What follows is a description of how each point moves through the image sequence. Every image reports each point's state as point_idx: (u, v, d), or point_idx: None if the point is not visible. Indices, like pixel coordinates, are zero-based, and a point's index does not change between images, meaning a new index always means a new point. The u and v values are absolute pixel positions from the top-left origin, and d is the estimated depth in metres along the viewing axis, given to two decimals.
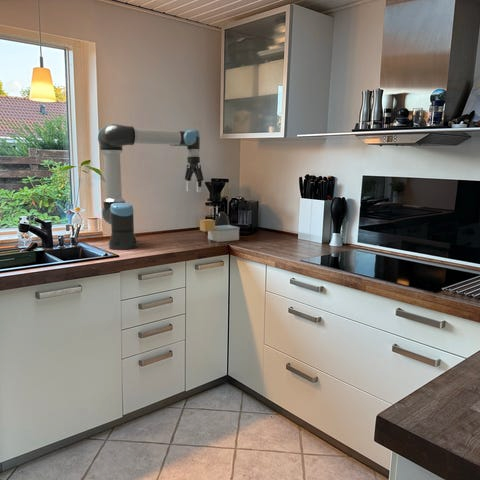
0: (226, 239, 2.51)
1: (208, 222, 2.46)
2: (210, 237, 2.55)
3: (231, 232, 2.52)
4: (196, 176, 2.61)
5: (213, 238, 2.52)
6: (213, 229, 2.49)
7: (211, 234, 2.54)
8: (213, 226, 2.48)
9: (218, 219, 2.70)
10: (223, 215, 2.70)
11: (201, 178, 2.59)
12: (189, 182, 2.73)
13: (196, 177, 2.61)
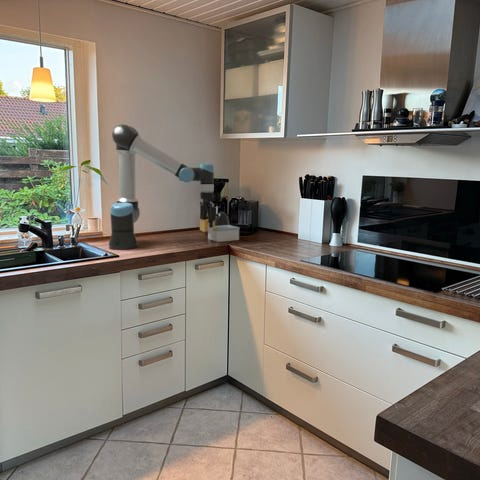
0: (226, 239, 2.51)
1: None
2: (210, 237, 2.55)
3: (231, 232, 2.52)
4: (208, 215, 2.45)
5: (213, 238, 2.52)
6: (213, 229, 2.49)
7: (211, 234, 2.54)
8: (213, 226, 2.48)
9: (218, 219, 2.70)
10: (223, 215, 2.70)
11: (212, 219, 2.44)
12: None
13: (208, 216, 2.46)
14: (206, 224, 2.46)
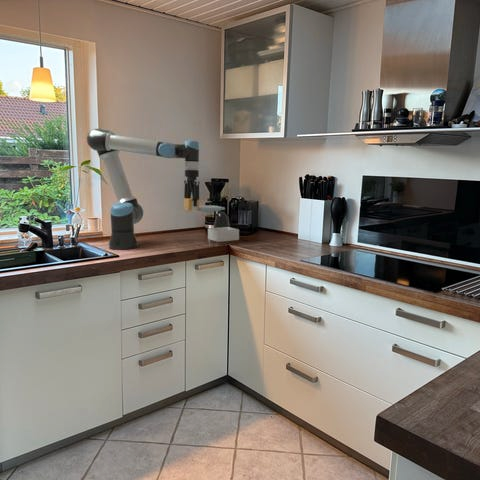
0: (226, 239, 2.51)
1: None
2: (210, 237, 2.55)
3: (231, 232, 2.52)
4: (192, 194, 2.39)
5: (213, 238, 2.52)
6: (197, 208, 2.42)
7: (211, 234, 2.54)
8: (197, 205, 2.42)
9: (218, 219, 2.70)
10: (223, 215, 2.70)
11: (197, 198, 2.37)
12: None
13: (192, 195, 2.39)
14: (190, 203, 2.39)
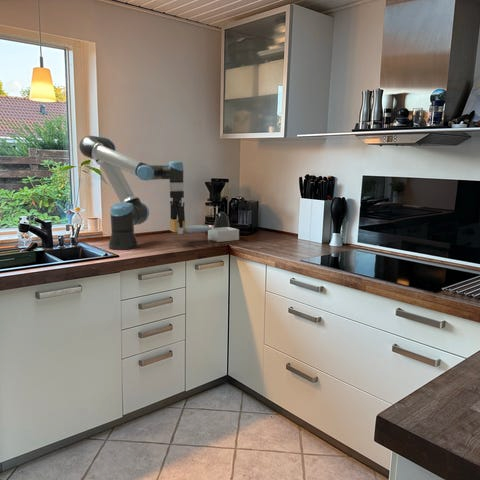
0: (226, 239, 2.51)
1: None
2: (210, 237, 2.55)
3: (231, 232, 2.52)
4: None
5: (213, 238, 2.52)
6: (183, 229, 2.39)
7: (211, 234, 2.54)
8: (183, 226, 2.38)
9: (218, 219, 2.69)
10: (223, 215, 2.70)
11: (182, 219, 2.34)
12: None
13: None
14: (176, 224, 2.36)
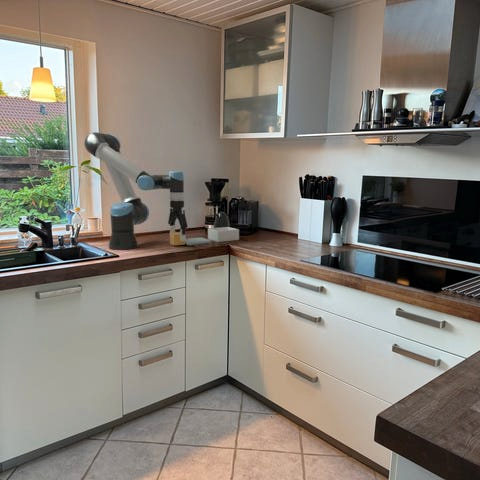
0: (226, 239, 2.51)
1: (178, 236, 2.38)
2: (210, 237, 2.55)
3: (231, 232, 2.52)
4: None
5: (213, 238, 2.52)
6: (183, 243, 2.40)
7: (211, 234, 2.54)
8: None
9: (218, 219, 2.70)
10: (223, 215, 2.70)
11: (185, 226, 2.31)
12: (173, 227, 2.46)
13: None
14: (176, 238, 2.37)
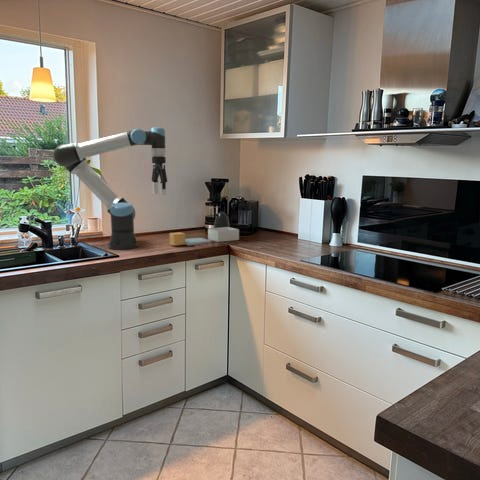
0: (226, 239, 2.51)
1: (178, 236, 2.37)
2: (210, 237, 2.55)
3: (231, 232, 2.52)
4: (160, 177, 2.41)
5: (213, 238, 2.52)
6: (183, 243, 2.40)
7: (211, 234, 2.54)
8: (183, 240, 2.39)
9: (218, 219, 2.70)
10: (223, 215, 2.70)
11: (165, 180, 2.38)
12: (156, 184, 2.53)
13: None
14: (176, 238, 2.37)
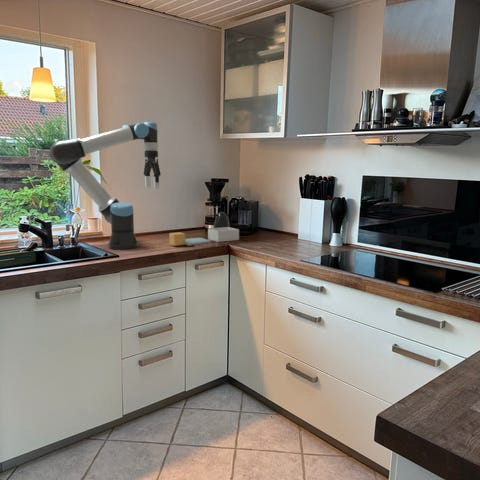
0: (226, 239, 2.51)
1: (178, 236, 2.37)
2: (210, 237, 2.55)
3: (231, 232, 2.52)
4: (153, 171, 2.46)
5: (213, 238, 2.52)
6: (183, 243, 2.40)
7: (211, 234, 2.54)
8: (183, 240, 2.39)
9: (218, 219, 2.70)
10: (223, 215, 2.70)
11: (158, 173, 2.43)
12: (148, 178, 2.57)
13: (153, 172, 2.46)
14: (176, 238, 2.36)
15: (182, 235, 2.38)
